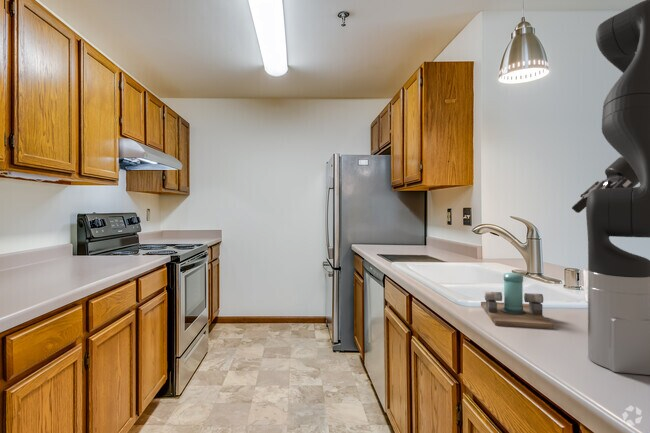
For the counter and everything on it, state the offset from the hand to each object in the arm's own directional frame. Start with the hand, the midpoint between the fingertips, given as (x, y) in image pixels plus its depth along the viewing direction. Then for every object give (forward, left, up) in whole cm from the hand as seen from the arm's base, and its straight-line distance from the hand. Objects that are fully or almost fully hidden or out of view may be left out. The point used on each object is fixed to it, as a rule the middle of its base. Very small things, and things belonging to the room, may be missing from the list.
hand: (582, 210), depth 92 cm
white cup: (+16, -11, -29) cm, 35 cm away
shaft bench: (-3, +18, -29) cm, 34 cm away
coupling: (-3, +18, -27) cm, 33 cm away
